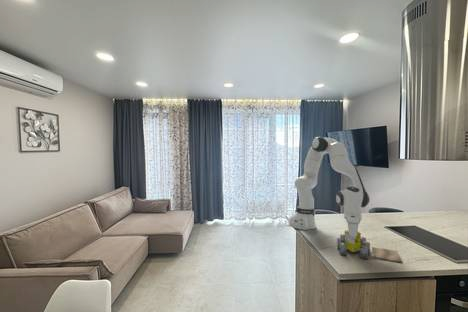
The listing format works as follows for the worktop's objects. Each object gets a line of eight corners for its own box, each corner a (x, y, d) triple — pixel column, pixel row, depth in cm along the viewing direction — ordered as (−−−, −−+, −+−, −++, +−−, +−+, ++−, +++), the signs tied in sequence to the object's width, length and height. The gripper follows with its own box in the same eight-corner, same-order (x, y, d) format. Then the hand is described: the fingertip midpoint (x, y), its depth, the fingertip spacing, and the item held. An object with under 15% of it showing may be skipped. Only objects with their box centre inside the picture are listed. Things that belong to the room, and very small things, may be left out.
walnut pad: (374, 258, 121) (374, 256, 121) (372, 248, 133) (372, 247, 133) (402, 263, 116) (402, 261, 116) (396, 252, 128) (396, 250, 128)
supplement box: (360, 252, 128) (361, 232, 128) (352, 253, 126) (352, 234, 126) (352, 247, 134) (352, 229, 133) (344, 249, 132) (344, 230, 132)
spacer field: (336, 254, 126) (336, 244, 126) (337, 243, 141) (337, 233, 141) (371, 260, 118) (371, 249, 118) (368, 247, 134) (368, 237, 134)
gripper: (346, 210, 140) (346, 233, 141) (346, 220, 122) (346, 245, 122) (358, 212, 137) (358, 234, 138) (359, 221, 119) (359, 247, 119)
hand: (352, 239), depth 130 cm, fingers closed on supplement box, 8 cm apart
